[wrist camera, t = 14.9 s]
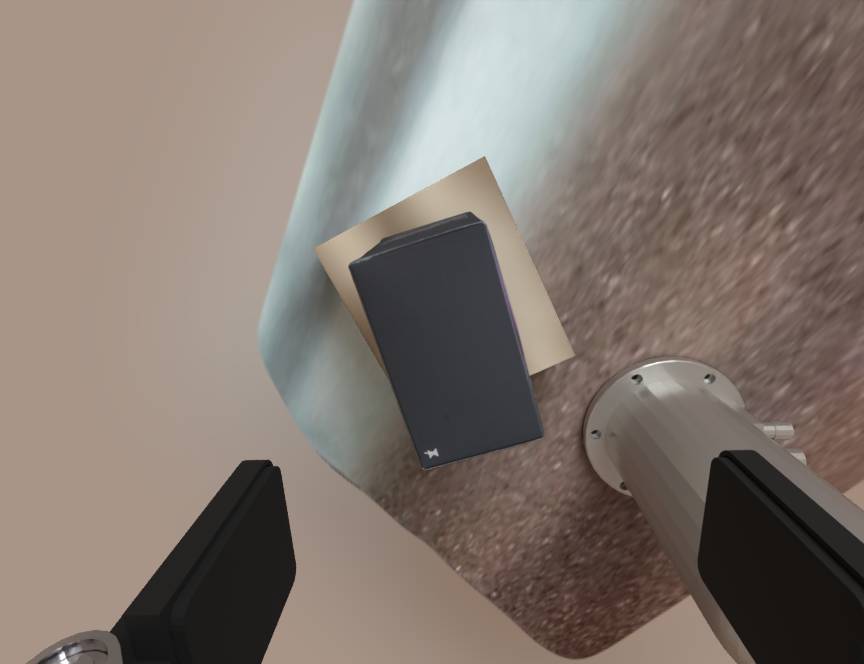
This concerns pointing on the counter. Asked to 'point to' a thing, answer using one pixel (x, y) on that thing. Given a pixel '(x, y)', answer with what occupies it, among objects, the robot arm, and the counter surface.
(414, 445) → the small box
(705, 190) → the counter surface
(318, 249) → the birch block
